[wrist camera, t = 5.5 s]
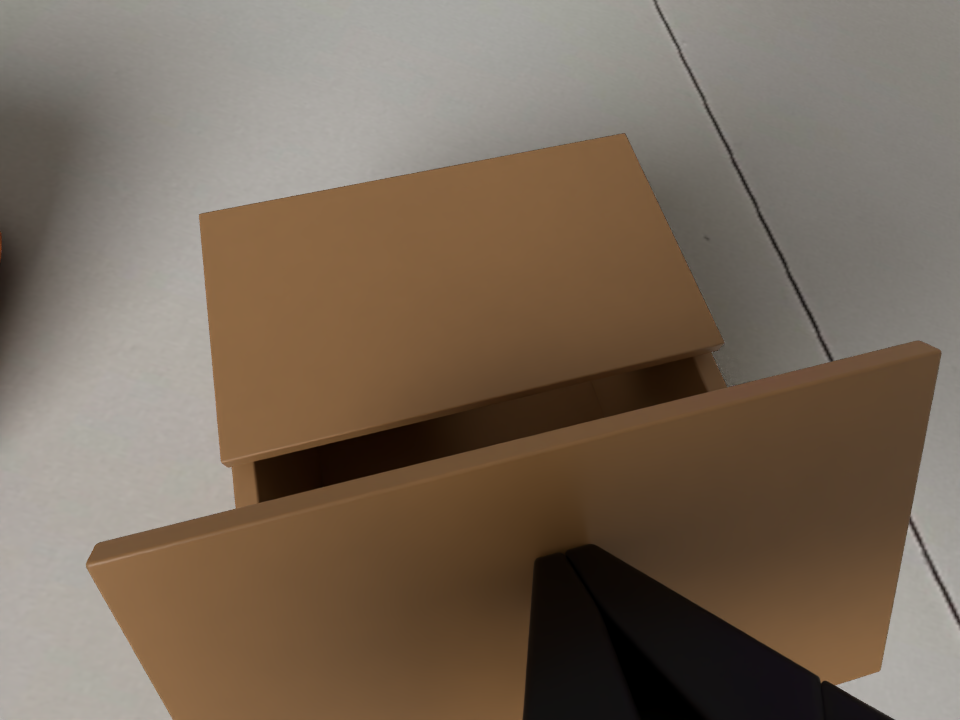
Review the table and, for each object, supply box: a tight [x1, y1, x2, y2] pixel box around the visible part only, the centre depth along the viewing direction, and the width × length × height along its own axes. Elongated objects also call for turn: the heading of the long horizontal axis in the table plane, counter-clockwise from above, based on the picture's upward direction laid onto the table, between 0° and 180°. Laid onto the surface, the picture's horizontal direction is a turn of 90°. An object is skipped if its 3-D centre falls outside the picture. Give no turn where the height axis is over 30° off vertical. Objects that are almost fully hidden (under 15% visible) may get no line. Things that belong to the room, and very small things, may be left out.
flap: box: [86, 341, 941, 720], centre depth 9 cm, size 6×11×1 cm
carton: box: [199, 133, 727, 509], centre depth 17 cm, size 13×11×9 cm
